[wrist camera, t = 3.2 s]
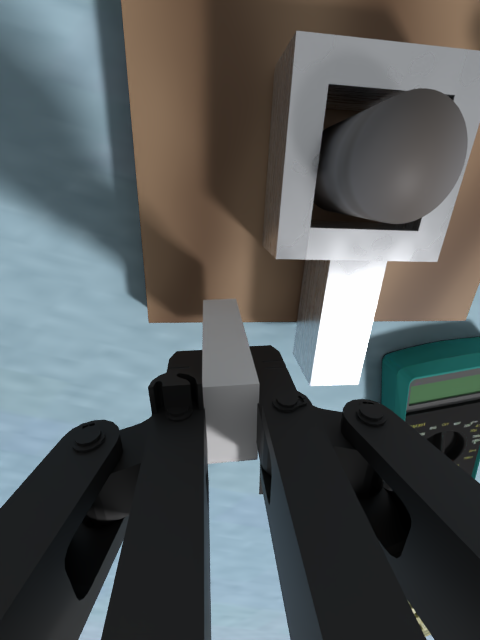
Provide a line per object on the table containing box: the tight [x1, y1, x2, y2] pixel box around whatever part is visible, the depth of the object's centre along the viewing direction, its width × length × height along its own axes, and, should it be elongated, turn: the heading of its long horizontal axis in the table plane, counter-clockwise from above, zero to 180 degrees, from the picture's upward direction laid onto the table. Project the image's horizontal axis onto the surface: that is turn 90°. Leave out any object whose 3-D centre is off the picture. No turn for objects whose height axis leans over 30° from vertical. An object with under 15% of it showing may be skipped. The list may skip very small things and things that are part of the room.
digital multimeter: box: [381, 337, 480, 479], centre depth 22 cm, size 7×15×3 cm, turn 8°
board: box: [121, 0, 480, 323], centre depth 12 cm, size 18×15×6 cm
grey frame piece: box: [262, 31, 480, 386], centre depth 13 cm, size 13×7×3 cm, turn 178°
